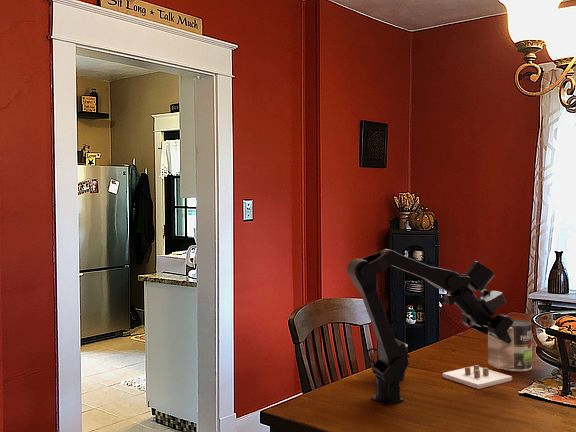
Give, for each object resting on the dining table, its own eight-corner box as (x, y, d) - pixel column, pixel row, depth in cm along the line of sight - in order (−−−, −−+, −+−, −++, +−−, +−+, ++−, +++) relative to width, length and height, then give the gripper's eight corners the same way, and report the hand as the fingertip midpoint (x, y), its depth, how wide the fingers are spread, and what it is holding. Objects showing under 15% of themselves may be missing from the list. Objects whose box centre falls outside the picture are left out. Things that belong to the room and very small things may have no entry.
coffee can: (538, 367, 199) (538, 322, 199) (521, 373, 192) (521, 327, 192) (508, 361, 207) (507, 318, 206) (491, 367, 200) (490, 322, 200)
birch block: (497, 368, 176) (497, 329, 176) (488, 364, 181) (487, 325, 180) (513, 367, 177) (513, 328, 177) (503, 362, 182) (503, 324, 182)
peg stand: (442, 377, 191) (442, 366, 191) (475, 369, 198) (475, 359, 198) (478, 388, 179) (478, 377, 179) (512, 380, 186) (512, 369, 186)
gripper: (506, 286, 168) (543, 325, 171) (470, 277, 186) (503, 313, 189) (480, 318, 166) (517, 356, 170) (446, 306, 185) (480, 341, 188)
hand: (504, 340), depth 179 cm, fingers closed on birch block, 5 cm apart
